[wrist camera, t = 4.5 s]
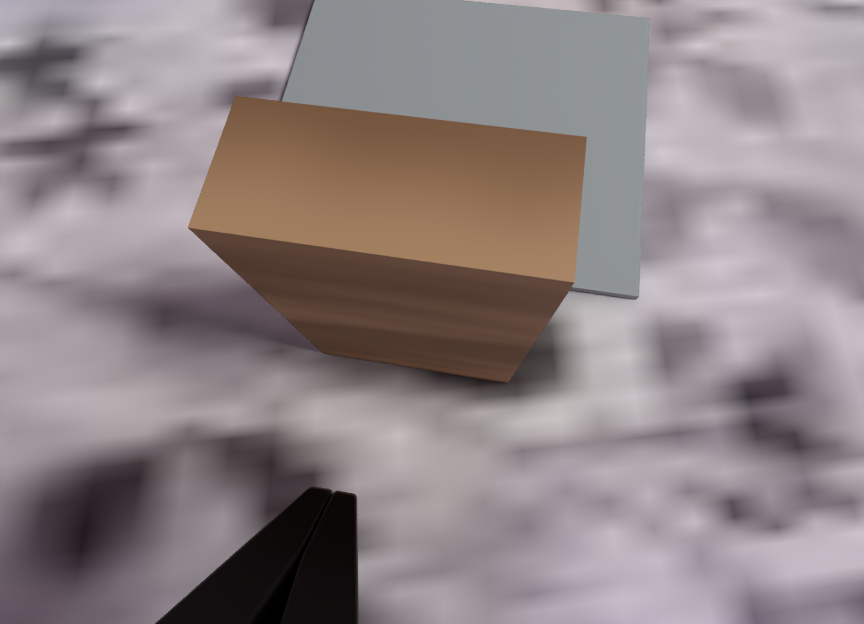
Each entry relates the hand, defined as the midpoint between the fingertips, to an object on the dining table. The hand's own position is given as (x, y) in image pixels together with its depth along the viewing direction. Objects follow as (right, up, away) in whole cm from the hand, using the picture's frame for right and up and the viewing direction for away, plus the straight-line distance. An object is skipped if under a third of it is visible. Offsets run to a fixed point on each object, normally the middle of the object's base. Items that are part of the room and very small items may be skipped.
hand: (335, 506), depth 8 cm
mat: (+3, +12, +13) cm, 18 cm away
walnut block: (+1, +3, +10) cm, 10 cm away
